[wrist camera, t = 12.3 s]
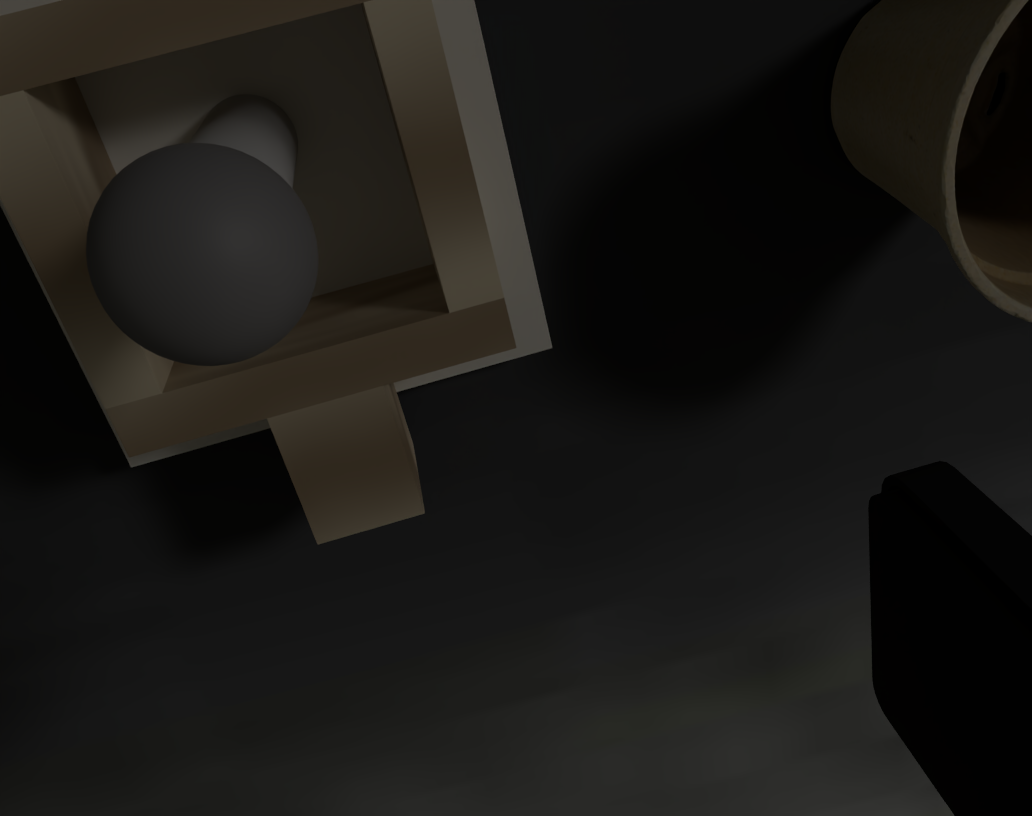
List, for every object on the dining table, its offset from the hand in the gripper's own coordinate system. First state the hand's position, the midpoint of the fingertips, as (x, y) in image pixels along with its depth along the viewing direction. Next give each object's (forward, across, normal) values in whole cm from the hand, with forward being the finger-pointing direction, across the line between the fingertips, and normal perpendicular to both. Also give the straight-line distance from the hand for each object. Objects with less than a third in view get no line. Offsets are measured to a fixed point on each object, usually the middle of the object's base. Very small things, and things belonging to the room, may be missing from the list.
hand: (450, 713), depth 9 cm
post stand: (+20, +2, -2) cm, 20 cm away
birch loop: (+18, +2, 0) cm, 19 cm away
